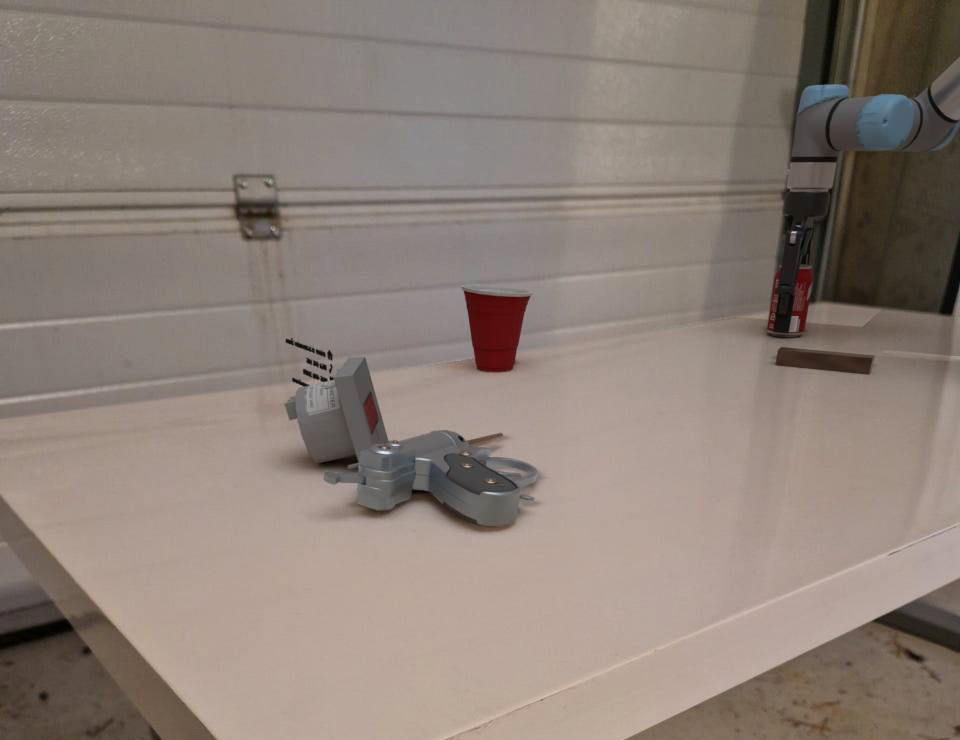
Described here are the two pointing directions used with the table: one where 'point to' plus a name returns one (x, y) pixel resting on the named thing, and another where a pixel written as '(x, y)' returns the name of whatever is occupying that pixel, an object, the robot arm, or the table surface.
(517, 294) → the plastic cup
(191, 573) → the table surface
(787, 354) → the walnut stick
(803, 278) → the soda can
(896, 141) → the robot arm
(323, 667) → the table surface
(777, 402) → the table surface
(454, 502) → the grey metal jointed piece
